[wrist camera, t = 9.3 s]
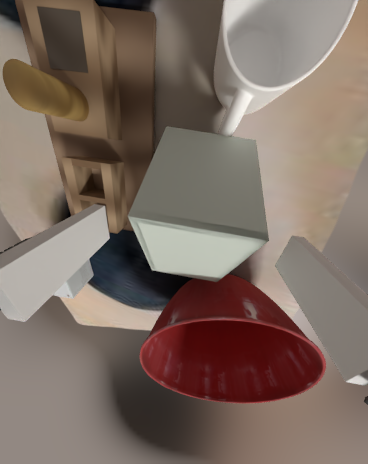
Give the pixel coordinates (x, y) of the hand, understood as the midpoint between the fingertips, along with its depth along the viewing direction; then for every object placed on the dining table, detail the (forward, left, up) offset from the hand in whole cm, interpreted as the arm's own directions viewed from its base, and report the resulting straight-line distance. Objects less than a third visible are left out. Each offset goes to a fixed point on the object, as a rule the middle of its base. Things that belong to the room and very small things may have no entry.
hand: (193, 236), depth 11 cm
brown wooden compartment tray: (-4, -16, -17) cm, 23 cm away
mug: (-12, +3, -17) cm, 21 cm away
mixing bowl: (+25, +9, -17) cm, 32 cm away
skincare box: (+23, -26, -17) cm, 39 cm away
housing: (-1, 0, -13) cm, 13 cm away
